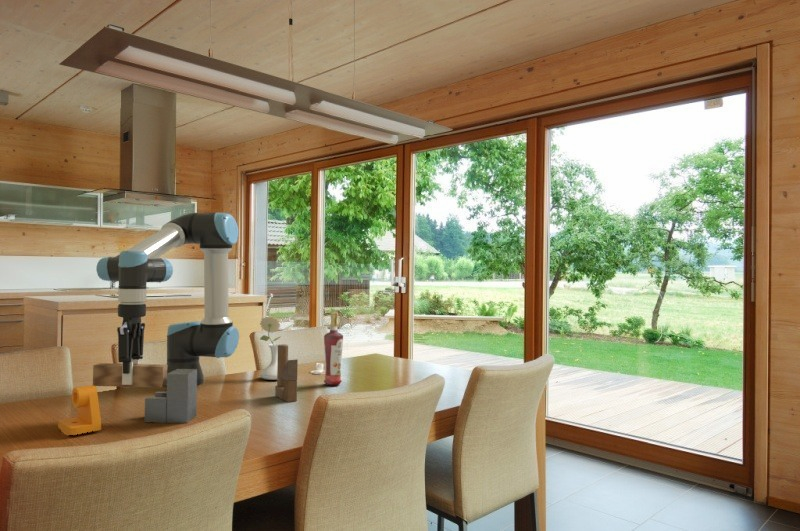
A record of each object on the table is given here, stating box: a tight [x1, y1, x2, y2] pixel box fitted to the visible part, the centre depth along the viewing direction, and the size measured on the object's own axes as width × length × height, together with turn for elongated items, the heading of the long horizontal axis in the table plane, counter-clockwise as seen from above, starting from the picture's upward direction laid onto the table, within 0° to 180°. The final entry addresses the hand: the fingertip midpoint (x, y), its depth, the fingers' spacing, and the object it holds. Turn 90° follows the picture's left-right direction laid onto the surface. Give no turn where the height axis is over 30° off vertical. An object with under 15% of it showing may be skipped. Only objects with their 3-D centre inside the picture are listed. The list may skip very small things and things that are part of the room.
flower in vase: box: [259, 315, 282, 381], centre depth 229 cm, size 13×11×25 cm
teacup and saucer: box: [310, 362, 325, 375], centre depth 244 cm, size 9×8×4 cm
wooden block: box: [274, 343, 299, 403], centre depth 196 cm, size 4×11×18 cm, turn 34°
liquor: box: [323, 311, 344, 387], centre depth 219 cm, size 7×7×28 cm
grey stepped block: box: [144, 369, 198, 424], centre depth 168 cm, size 9×12×14 cm
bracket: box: [57, 384, 102, 436], centre depth 155 cm, size 11×7×12 cm, turn 49°
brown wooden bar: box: [92, 362, 167, 388], centre depth 168 cm, size 20×4×6 cm, turn 92°
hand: (130, 382), depth 168 cm, fingers closed on brown wooden bar, 3 cm apart
